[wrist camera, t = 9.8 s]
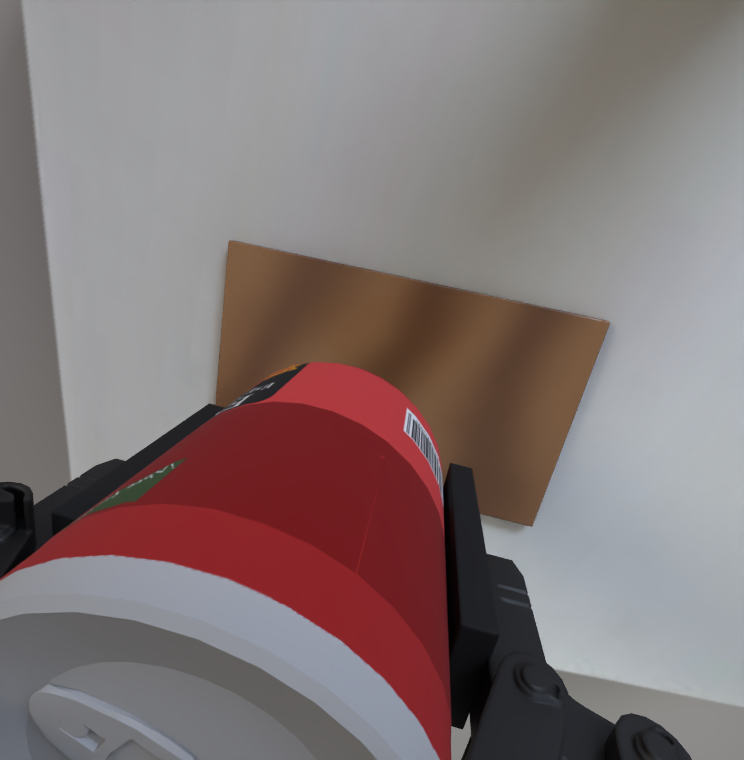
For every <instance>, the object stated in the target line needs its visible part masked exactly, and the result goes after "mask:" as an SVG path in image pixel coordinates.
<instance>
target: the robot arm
mask: <svg viewBox="0 0 744 760" xmlns="http://www.w3.org/2000/svg"><path fill="white" fill-rule="evenodd" d="M224 408H225V407H221V406H217V405H213V404H208V405H206V406H205V407H204V408H202V409H201V410H199V411H198V412H196V413H195V414H193V415H192V416H191V417H189V418H188V419H186V420H185V421H183V422H182V423H180V424H179V425H177V426H176V427H175V428H173V429H172V430H170V431H169V432H167V433H166V434H164V435H163V436H161V437H160V438H159V439H157V440H156V441H154V442H153V443H151V444H150V445H148V446H147V447H146V448H144V449H143V450H141V451H140V452H138V453H137V454H135V455H134V456H132V457H131V458H130V459H128V460H127V461H123V460H119V459H113V460H110V461H108V462H105V463H102V464H99V465H96V466H94V467H93V468H91V469H90V470H88V471H87V472H85V473H84V474H82V475H81V476H80V478H78V477H77V478H76V479H74V480H73V481H71V482H69V483H68V485H67V486H63V487H62V488H60V489H59V490H57V491H56V492H54V493H53V494H51V495H49V496H48V497H46V498H45V499H43V500H41V501H40V502H38V503H37V504H35V505H34V503H33V493H32V491H31V489H30V487H28V486H26V485H24V484H21V483H14V482H0V578H2V577H3V576H4V575H6V574H7V573H8V572H10V571H11V570H12V569H14V568H15V567H16V566H18V565H19V564H20V563H21V562H23V561H24V560H25V559H27V558H28V557H29V556H31V555H32V554H33V553H35V552H36V551H37V550H38V549H39V548H41V547H42V546H43V545H44V544H45V543H46V542H47V541H48V540H50V539H51V538H52V537H53V536H55V535H56V534H57V533H59V532H60V531H61V530H63V529H64V528H65V527H67V526H68V525H69V524H71V523H72V522H73V521H75V520H76V519H77V518H79V517H80V516H81V515H83V514H84V513H85V512H87V511H88V510H89V509H91V508H92V507H93V506H95V505H96V504H97V503H99V502H100V501H101V500H103V499H104V498H105V497H107V496H108V495H109V494H111V493H112V492H113V491H115V490H116V489H117V488H119V487H120V486H121V485H123V484H124V483H125V482H127V481H128V480H129V479H131V478H132V477H133V476H135V475H136V474H137V473H139V472H140V471H141V470H143V469H144V468H145V467H147V466H148V465H149V464H151V463H152V462H153V461H155V460H156V459H157V458H159V457H160V456H161V455H163V454H164V453H165V452H167V451H168V450H169V449H171V448H172V447H173V446H175V445H176V444H177V443H179V442H180V441H181V440H183V439H184V438H185V437H187V436H188V435H189V434H191V433H192V432H193V431H195V430H196V429H197V428H199V427H200V426H201V425H203V424H204V423H205V422H207V421H208V420H209V419H211V418H212V417H213V416H215V415H216V414H217V413H219V412H220V411H221V410H223V409H224ZM443 506H444V533H445V560H446V587H447V614H448V641H449V668H450V695H451V726H453V727H457V728H460V729H463V728H464V725H465V722H466V720H467V717H468V715H469V712H470V725H471V737H470V739H469V742H468V744H467V747H466V749H465V752H464V754H463V757H462V759H461V760H692V759H691V757H690V755H689V754H688V753H687V752H686V751H685V749H684V748H683V747H682V745H681V744H680V743H679V742H678V741H677V739H676V738H674V737H673V736H672V735H671V734H670V733H669V732H668V731H666V730H665V729H664V728H663V727H662V726H661V725H659V724H657V723H655V722H653V721H652V720H650V719H648V718H647V717H643V716H640V715H636V714H632V713H631V714H627V715H622V716H621V717H620V719H619V720H618V721H617V723H616V724H613V723H611V722H610V721H608V720H606V719H605V718H603V717H601V716H599V715H598V714H596V713H594V712H593V711H591V710H589V709H587V708H585V707H584V706H583V705H581V704H580V703H578V702H577V701H575V700H574V699H573V698H572V697H571V696H569V695H568V692H567V689H566V687H565V685H564V683H563V681H562V679H561V678H560V677H559V675H558V674H557V673H556V672H555V670H554V669H553V668H552V667H551V666H550V665H548V664H547V663H546V660H545V656H544V653H543V649H542V645H541V641H540V638H539V634H538V630H537V626H536V622H535V619H534V615H533V611H532V609H531V604H530V600H529V596H527V593H528V592H527V589H526V585H525V581H524V577H523V575H522V574H521V572H520V571H519V570H518V568H517V567H516V565H515V564H514V563H513V561H512V560H508V559H505V558H501V557H497V556H493V555H489V554H486V549H485V543H484V537H483V531H482V525H481V519H480V513H479V507H478V501H477V494H476V488H475V482H474V476H473V470H472V468H469V467H465V466H461V465H457V464H453V463H450V465H449V469H448V472H447V475H446V479H445V482H444V486H443Z"/></svg>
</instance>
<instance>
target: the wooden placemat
mask: <svg viewBox="0 0 744 760" xmlns="http://www.w3.org/2000/svg"><path fill="white" fill-rule="evenodd" d="M609 324H610V322H609V321H606V320H602V319H598V318H593V317H588V316H584V315H579V314H574V313H570V312H565V311H560V310H556V309H551V308H546V307H542V306H537V305H532V304H528V303H523V302H518V301H514V300H509V299H504V298H500V297H495V296H490V295H486V294H481V293H476V292H472V291H467V290H462V289H458V288H453V287H448V286H444V285H439V284H434V283H430V282H425V281H420V280H415V279H411V278H406V277H401V276H397V275H392V274H387V273H383V272H378V271H373V270H369V269H364V268H359V267H355V266H350V265H345V264H341V263H336V262H331V261H327V260H322V259H317V258H313V257H308V256H303V255H299V254H294V253H289V252H285V251H280V250H275V249H271V248H266V247H261V246H257V245H252V244H247V243H243V242H238V241H229V244H228V256H227V268H226V280H225V293H224V305H223V317H222V330H221V342H220V354H219V366H218V379H217V391H216V403H215V405H217V406H221V407H227V406H228V405H229V404H231V403H232V402H233V401H235V400H236V399H237V398H239V397H240V396H241V395H243V394H244V393H245V392H247V391H248V390H249V389H251V388H252V387H253V386H255V385H256V384H257V383H259V382H260V381H262V380H263V379H265V378H266V377H268V376H270V375H271V374H273V373H274V372H277V371H279V370H282V369H285V368H287V367H290V366H293V365H298V364H305V363H312V362H323V363H340V364H345V365H349V366H354V367H358V368H362V369H364V370H366V371H369V372H371V373H373V374H375V375H377V376H380V377H382V378H383V379H385V380H386V381H387V382H389V383H390V384H392V385H393V386H395V387H396V388H398V389H399V390H400V391H401V392H402V393H403V394H404V395H405V396H406V397H407V398H408V399H409V400H410V401H411V402H412V403H413V404H414V405H415V406H416V407H417V409H418V410H419V412H420V413H421V414H422V416H423V417H424V419H425V420H426V422H427V423H428V425H429V426H430V428H431V431H432V433H433V435H434V438H435V440H436V442H437V445H438V448H439V453H440V458H441V463H442V479H443V486H444V482H445V479H446V475H447V472H448V469H449V465H450V463H453V464H457V465H461V466H465V467H469V468H472V470H473V476H474V482H475V488H476V494H477V501H478V507H479V513H480V514H484V515H488V516H492V517H496V518H499V519H503V520H507V521H511V522H515V523H519V524H523V525H527V526H531V527H532V526H533V523H534V520H535V518H536V515H537V512H538V510H539V507H540V505H541V502H542V499H543V497H544V494H545V492H546V489H547V486H548V484H549V481H550V479H551V476H552V473H553V471H554V468H555V465H556V463H557V460H558V458H559V455H560V452H561V450H562V447H563V445H564V442H565V439H566V437H567V434H568V432H569V429H570V426H571V424H572V421H573V418H574V416H575V413H576V411H577V408H578V405H579V403H580V400H581V398H582V395H583V392H584V390H585V387H586V384H587V382H588V379H589V377H590V374H591V371H592V369H593V366H594V364H595V361H596V358H597V356H598V353H599V351H600V348H601V345H602V343H603V340H604V337H605V335H606V332H607V330H608V327H609Z"/></svg>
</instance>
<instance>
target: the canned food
mask: <svg viewBox="0 0 744 760" xmlns="http://www.w3.org/2000/svg"><path fill="white" fill-rule="evenodd" d="M0 760H451V695H450V668H449V641H448V614H447V587H446V560H445V533H444V506H443V479H442V463H441V458H440V453H439V448H438V445H437V442H436V440H435V438H434V435H433V433H432V431H431V428H430V426H429V425H428V423H427V422H426V420H425V419H424V417H423V416H422V414H421V413H420V412H419V410H418V409H417V407H416V406H415V405H414V404H413V403H412V402H411V401H410V400H409V399H408V398H407V397H406V396H405V395H404V394H403V393H402V392H401V391H400V390H399V389H398V388H396V387H395V386H393V385H392V384H390V383H389V382H387V381H386V380H385V379H383V378H382V377H380V376H377V375H375V374H373V373H371V372H369V371H366V370H364V369H362V368H358V367H354V366H349V365H345V364H340V363H323V362H312V363H305V364H298V365H293V366H290V367H287V368H285V369H282V370H279V371H277V372H274V373H273V374H271V375H270V376H268V377H266V378H265V379H263V380H262V381H260V382H259V383H257V384H256V385H255V386H253V387H252V388H251V389H249V390H248V391H247V392H245V393H244V394H243V395H241V396H240V397H239V398H237V399H236V400H235V401H233V402H232V403H231V404H229V405H228V406H227V407H225V408H224V409H223V410H221V411H220V412H219V413H217V414H216V415H215V416H213V417H212V418H211V419H209V420H208V421H207V422H205V423H204V424H203V425H201V426H200V427H199V428H197V429H196V430H195V431H193V432H192V433H191V434H189V435H188V436H187V437H185V438H184V439H183V440H181V441H180V442H179V443H177V444H176V445H175V446H173V447H172V448H171V449H169V450H168V451H167V452H165V453H164V454H163V455H161V456H160V457H159V458H157V459H156V460H155V461H153V462H152V463H151V464H149V465H148V466H147V467H145V468H144V469H143V470H141V471H140V472H139V473H137V474H136V475H135V476H133V477H132V478H131V479H129V480H128V481H127V482H125V483H124V484H123V485H121V486H120V487H119V488H117V489H116V490H115V491H113V492H112V493H111V494H109V495H108V496H107V497H105V498H104V499H103V500H101V501H100V502H99V503H97V504H96V505H95V506H93V507H92V508H91V509H89V510H88V511H87V512H85V513H84V514H83V515H81V516H80V517H79V518H77V519H76V520H75V521H73V522H72V523H71V524H69V525H68V526H67V527H65V528H64V529H63V530H61V531H60V532H59V533H57V534H56V535H55V536H53V537H52V538H51V539H50V540H48V541H47V542H46V543H45V544H44V545H43V546H42V547H41V548H39V549H38V550H37V551H36V552H35V553H33V554H32V555H31V556H29V557H28V558H27V559H25V560H24V561H23V562H21V563H20V564H19V565H18V566H16V567H15V568H14V569H12V570H11V571H10V572H8V573H7V574H6V575H4V576H3V577H2V578H0Z"/></svg>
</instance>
